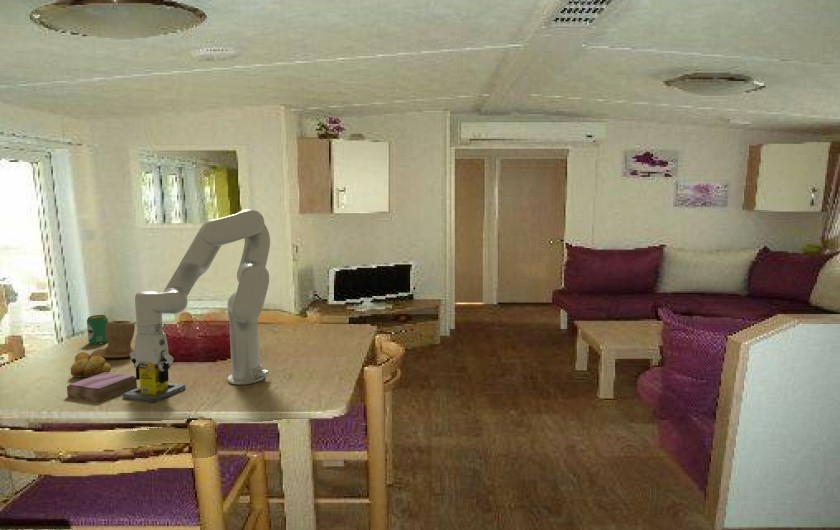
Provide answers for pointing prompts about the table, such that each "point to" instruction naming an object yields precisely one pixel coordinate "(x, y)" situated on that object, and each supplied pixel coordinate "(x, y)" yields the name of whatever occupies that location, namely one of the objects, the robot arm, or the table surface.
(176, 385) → the frame
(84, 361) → the bread roll
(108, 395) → the pedestal
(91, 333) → the beverage can
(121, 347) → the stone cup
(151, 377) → the supplement box
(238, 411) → the table surface
